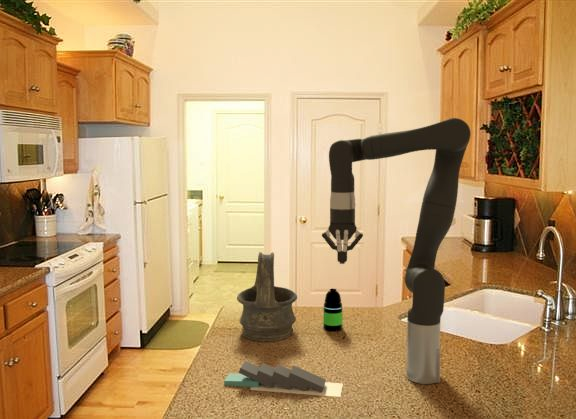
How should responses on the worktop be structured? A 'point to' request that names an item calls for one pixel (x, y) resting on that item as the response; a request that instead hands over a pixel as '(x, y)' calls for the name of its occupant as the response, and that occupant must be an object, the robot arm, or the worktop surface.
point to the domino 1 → (240, 380)
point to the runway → (328, 390)
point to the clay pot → (266, 305)
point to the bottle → (332, 311)
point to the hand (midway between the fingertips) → (342, 263)
